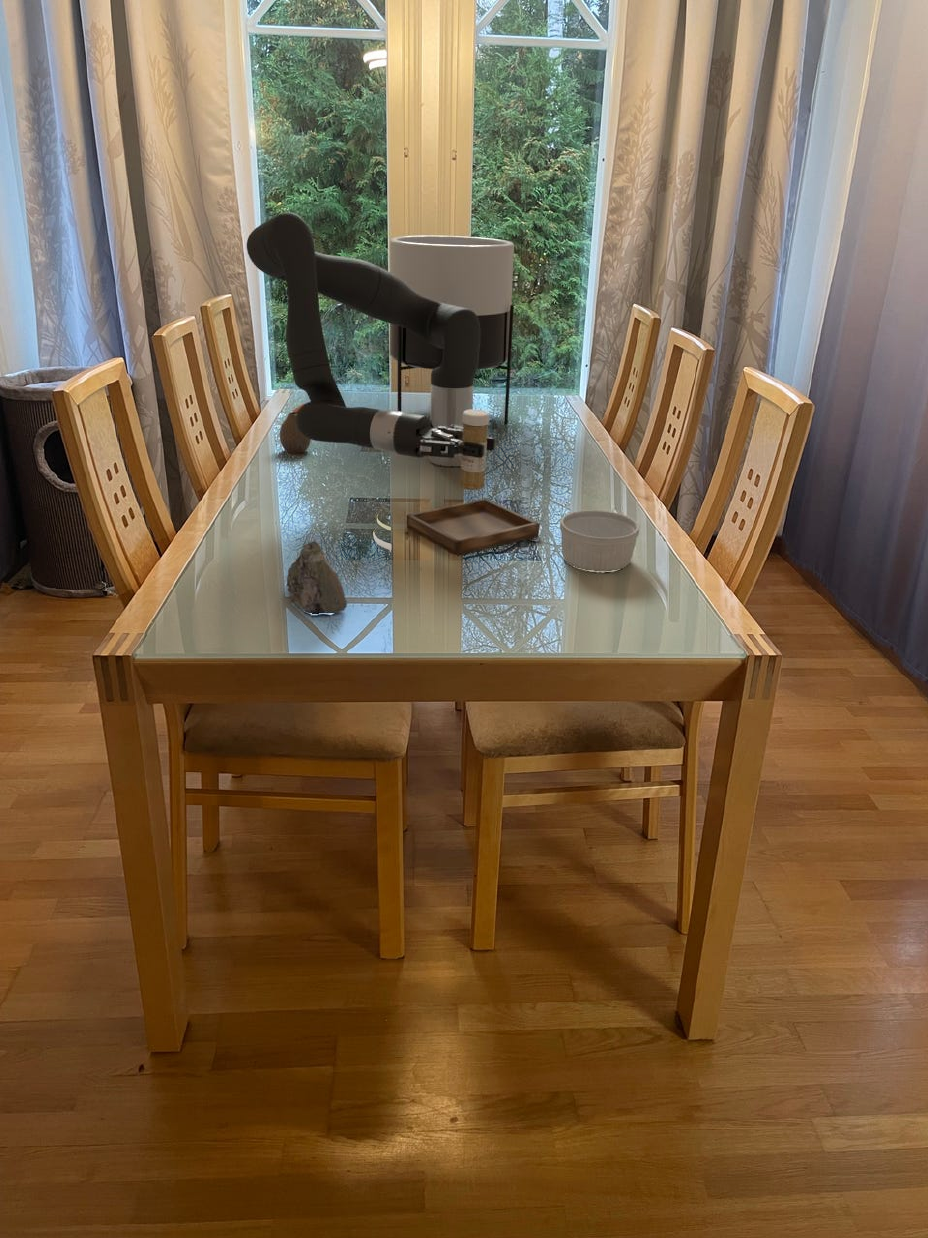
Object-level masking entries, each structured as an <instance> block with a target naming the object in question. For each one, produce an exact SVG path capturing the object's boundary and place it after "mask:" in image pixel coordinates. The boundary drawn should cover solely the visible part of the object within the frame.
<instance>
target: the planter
mask: <svg viewBox="0 0 928 1238" xmlns="http://www.w3.org/2000/svg"><path fill="white" fill-rule="evenodd" d="M514 256H515V244H514V243H513V242H512V241H509V240H507V239H506V240H505V239H497V238H488V237H479V236H477V237H476V236H461V235H460V236H459V235H405V236H404V235H403V236H397V237H396V236H395V237H392V238H390V239H389V272H390V273H392V274H393V275H395V276H396V277H398V278H399V279H400V280H401V281H403V282H404V283H405V284H406V285H407V286H408V287H409V288H410V289H411V290H412V291H414V292H415V293H417V294H419V295H421V296H423V297H426V298H429V299H431V300H434V301H437V302H440V303H445V304H450V305H454V306H459V307H463V308H467V309H470V310H472V311H473V312H474V313H475V314H476V315H477V317H478V319H479V323H480V332H481V333H480V348H479V360H478V368H477V371H480V370H487V369H498V370H499V369H500V370H506V383H505V384H506V385H505V398H504V399H505V400H504V402H505V403H504V420H503V425H504V426H507V425H508V423H509V404H510V403H509V401H510V387H511V383H510V382H511V370H512V369H511V365H512V346H513V329H514V312H515V309H514V308H515V305H514V304H512V298H513V297H512V295H513V276H514V275H513V274H514ZM389 356H390V358H391V359H392V360H393V361H395V362H396V363H397V411H400V412H402V371H404V370H411V369H424V370H425V369H426V370H431V371H432V370H433V369H434V368H436V367H440V366H441V364H442V359H443V349H440V348H437V347H435V346H434V345H432V344H431V343H429V342H427V341H426V340H424V339H423V338H421V337H420V336H418V335H416V334H415V333H413V332H411V331H410V330H408V329H406V328H404V327H401V326H398V325H394V324H390V323H389ZM506 363H507V364H506ZM504 364H506V366H505V365H504ZM402 365H404V366H402Z"/></svg>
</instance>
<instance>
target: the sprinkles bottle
mask: <svg viewBox="0 0 928 1238" xmlns="http://www.w3.org/2000/svg"><path fill="white" fill-rule="evenodd" d="M462 422H463V442H471V443H477V444H482V445H484V456H483V457H481V458H477V457H472V456H466V455H463V454H462V456H461V466H460V481H459V487H460V488H462V489H463V490H468V491H478V490H482V489H484V488H485V476H486V475H485V474H486V465H487V463H486V462H487V451H488V450H487V437H488V427H489V424H490V413H489V412H488V411H486V410H483V409H477V408H474V409H470V410H466V411H464V412H463V420H462Z"/></svg>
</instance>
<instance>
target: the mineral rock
mask: <svg viewBox="0 0 928 1238" xmlns="http://www.w3.org/2000/svg"><path fill="white" fill-rule="evenodd" d="M286 582H287V583H286V586H287V587H288V588H287V591H288V592H289V593H290V594H289V597H290V598H291V599H290V600H291V601H292V603H294V604H295V605H297V606H298V607H299V608H300V609H301V610H302V611H303V610H304V611H305V612H308V613H312V614H319V613H336V614H338V613H339V612H340V613H341V612H342V611H344V610H345V609H346V608H347V605H348V601H347V598H346V596H345V591H344V588H343V585H342V583H341V579H340V576H339V574H338V572H337V571H336V570H335V569H334V568H333V567H332V566H331V564H329V562H328V559H327V557H326V556H325V552H324V550H323V549H322V546H321V545H320V544H319V543H318V542H317V541H316V540H313V541H312V540H311V541H310V542H309V543H306V544H304V545H303V547H302V549H301V550H300V552H299V556H298V557H297V558H296V559H295V561H293V562H292V563H291V565H290V567H289V568H288V570H287V577H286ZM304 611H303V612H304ZM305 612H304V613H305Z"/></svg>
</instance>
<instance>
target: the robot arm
mask: <svg viewBox="0 0 928 1238" xmlns="http://www.w3.org/2000/svg"><path fill="white" fill-rule="evenodd" d="M246 251H247V254H248V257H249V259H250V260H251V262H252V263H253V265H254V266H255V267H256V268H257V269H258V270H259V271H260V272H262V273H264V274H265V275H267V276H270V277H272V278H273V279H278V280H281V281H284V282H285V283H286V289H287V301H288V302H287V304H288V305H287V318H286V329H285V330H286V331H285V343H286V351H287V357H288V361H289V364H290V369H291V373H292V377H293V381H294V383H295V385H296V387H297V388H299V389H301V390H302V391H305V392H306V394H307V396H308V398H309V402H308V401H307V402H306V403H304V405H303V404H302V405H303V406H302V407H301V408H300V409H299V410H298V412H297V415H296V424H297V427H298V429H299V431H300V432H301V433H302V434H303V435H304V436H305V437H307V438H309V439H311V440H312V441H315V442H323V443H324V442H325V443H333V444H334V443H337V444H351V445H355V446H359V447H363V448H370V449H374V450H379V451H382V452H386V453H390V454H395V455H401V456H407V457H412V458H417V459H422V458H424V457H429V462H430V463H431V464H433V463H434V465H436V466H440V465H441V466H442V467H451V466H453V467H461V466H460V465H461V456H462V454H463V455H466V456H472V457H477V458H481V457H483V456H484V445H482V444H477V443H471V442H463V422H462V420H463V412H464V411H466V410H470V409H473V407H474V404H473V403H474V381H475V380H474V379H475V376H476V373H477V372H478V370H477V368H478V360H479V348H480V333H481V332H480V323H479V319H478V317H477V315H476V314H475V313H474V312H473V311H472V310H470V309H467V308H463V307H459V306H454V305H450V304H445V303H440V302H437V301H434V300H431V299H429V298H426V297H423V296H421V295H419V294H417V293H415V292H414V291H412V290H411V289H410V288H409V287H408V286H407V285H406V284H405V283H404V282H403V281H401V280H400V279H399V278H398V277H396V276H395V275H393V274H392V273H390V271H388V270H386V269H384V268H382V267H380V266H378V265H376V264H374V263H371V262H370V261H367V260H362V259H358V258H353V257H352V258H351V257H346V256H339V255H338V256H337V255H330V254H325V253H321V252H318V251H316V249H315V242H314V237H313V234H312V230H311V228H310V227H309V225H308V223H307V222H306V220H304V219H303V218H302V217H301V216H300V215H299V214H297V213H294V212H292V211H291V212H290V211H285V212H281V213H278V214H277V215H275V216H273V217H271V218H269V219H268V220H266V221H265V222H263V223H261V224H260V225H258V226H257V227H256V228H254V229H253V230H252V232H250V234H249V236H248V237H247V241H246ZM319 294H321V295H323V296H325V297H326V298H329V299H331V300H334V301H336V302H339V303H340V304H343V305H345V306H347V307H348V308H351V309H353V310H355V311H357V312H359V313H362V314H363V315H366V316H368V317H370V318H373V319H376V320H379V321H381V322H384V323H387V324H389V325H390V324H394V325H398V326H401V327H404V328H406V329H408V330H410V331H411V332H413V333H415V334H416V335H418V336H420V337H421V338H423V339H424V340H426V341H427V342H429V343H431V344H432V345H434V346H435V347H437V348H440V349H443V359H442V364H441V366H440V367H436V368H434V369H433V370H432V369H431V372H430V374H431V375H430V409H429V410H430V413H429V415H430V416H427V415H424V414H418V413H412V412H405V411H401V412H400V411H398V410H393V409H391V410H389V409H387V410H386V409H377V408H370V407H366V406H365V407H363V406H362V407H361V406H360V407H359V406H356V407H355V406H354V407H347V406H346V403H345V400H344V398H343V395H342V394H341V392H340V389H339V386H338V384H337V382H336V380H335V378H334V377H333V374H332V370H331V366H330V365H331V364H330V360H329V356H328V352H327V346H326V342H325V337H324V332H323V326H322V321H321V314H320V313H321V311H320V310H321V309H320V299H319ZM495 449H496V439H495V438H494V437H490V436H487V451H488V452H492V451H495Z"/></svg>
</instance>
